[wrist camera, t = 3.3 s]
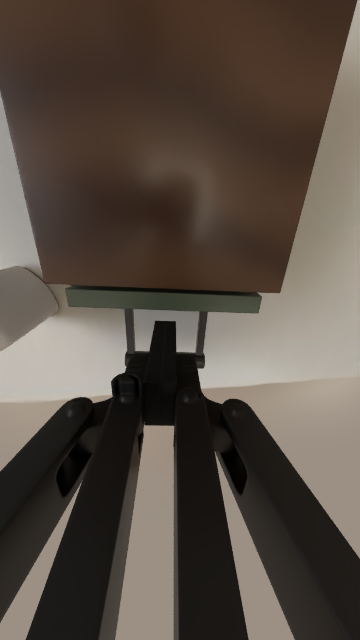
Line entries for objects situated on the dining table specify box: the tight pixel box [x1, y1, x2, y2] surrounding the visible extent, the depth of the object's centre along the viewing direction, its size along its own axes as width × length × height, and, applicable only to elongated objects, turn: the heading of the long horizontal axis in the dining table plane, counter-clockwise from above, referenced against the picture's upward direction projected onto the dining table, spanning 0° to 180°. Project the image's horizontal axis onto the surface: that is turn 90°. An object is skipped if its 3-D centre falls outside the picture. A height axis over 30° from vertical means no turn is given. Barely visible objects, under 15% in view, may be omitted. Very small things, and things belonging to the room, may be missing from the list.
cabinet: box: [0, 0, 357, 293], centre depth 13 cm, size 16×14×10 cm
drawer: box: [65, 285, 262, 368], centre depth 15 cm, size 21×12×8 cm, turn 177°
